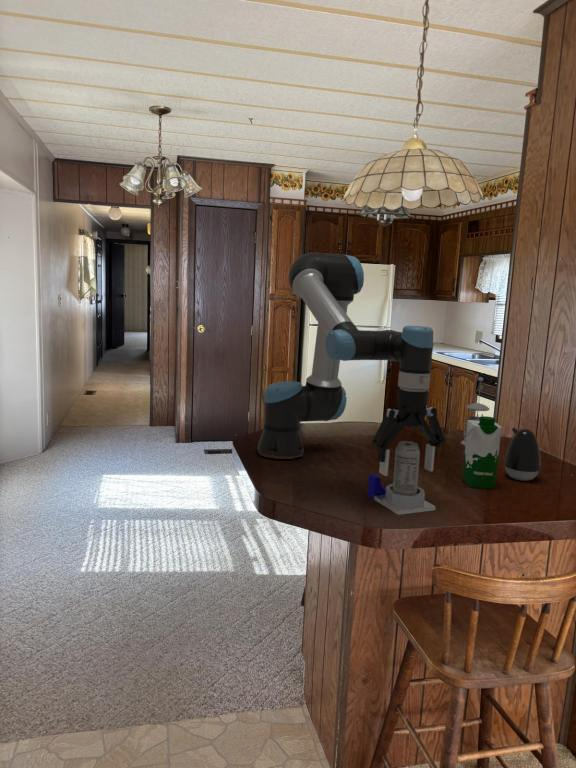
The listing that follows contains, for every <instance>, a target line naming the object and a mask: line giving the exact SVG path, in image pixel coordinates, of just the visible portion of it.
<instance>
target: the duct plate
mask: <svg viewBox="0 0 576 768" xmlns="http://www.w3.org/2000/svg"><path fill="white" fill-rule="evenodd" d="M385 487H386V493H385V495H377V496H374V501H376V502H377V503H379V504H380V505H382V506H383V507H385V508H387V509H388V510H390V511H391V512H392V513H394V514H396V515H397V516H400V515H408V514H417V513H424V512H431V511H436V505H434V504H432V503H430V502H429V501H427V500H425V498H426V497H425V496H426V495H425V494H426V492H425V489H423V488H421V487H420V486H418V485H417V494H415V495H405V494H399V493H396V492H394V491H393V484H392V483H390V484H388V485H386V486H385Z"/></svg>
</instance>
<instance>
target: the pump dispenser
mask: <svg viewBox="0 0 576 768" xmlns="http://www.w3.org/2000/svg"><path fill="white" fill-rule="evenodd" d="M511 431H512V432H513V433H514V435H513V437H512V438H511V440H510V443H509V444H508V447H507V449H506V453H505V456H504V460H503V465H504V468H505V472H506V473H507V475H508V476H509V477H510V478H512V479H514V480H516V481H521V482H522V481H523V482H525V481H532V480H534V479H535V478H536V477H537V476H538V474H539V471H541V468H542V467H541V466H542V465H541V464H542V462H541V452H540V447H539V442H538V438H537V437H536V435H535V433H534V432H533V431H532V430H530V429H528V428H522V429H519V430H518V429H517V428H516V427H513V428H512V429H511Z"/></svg>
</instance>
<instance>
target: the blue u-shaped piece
mask: <svg viewBox="0 0 576 768" xmlns="http://www.w3.org/2000/svg"><path fill="white" fill-rule="evenodd" d="M367 483H368V484H367V486H368V487H367V497H368V498H370V497H371V498H370V499H371V500H373V499H374V496H377V495H385V493H386V486H384V487H383V486H382V483H381V477H380V476H378V475H377V474H375V473H369V474H368V482H367ZM391 484H393V482H392V483H391Z"/></svg>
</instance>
